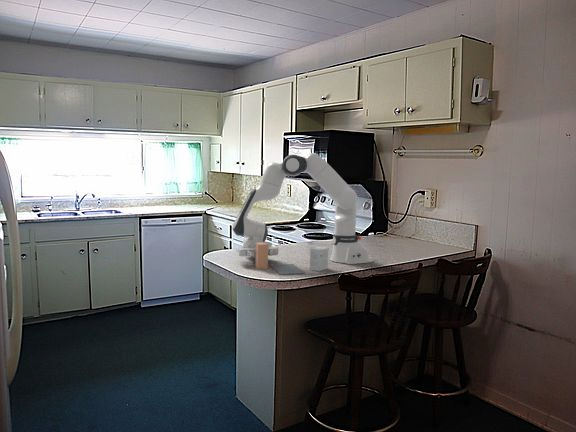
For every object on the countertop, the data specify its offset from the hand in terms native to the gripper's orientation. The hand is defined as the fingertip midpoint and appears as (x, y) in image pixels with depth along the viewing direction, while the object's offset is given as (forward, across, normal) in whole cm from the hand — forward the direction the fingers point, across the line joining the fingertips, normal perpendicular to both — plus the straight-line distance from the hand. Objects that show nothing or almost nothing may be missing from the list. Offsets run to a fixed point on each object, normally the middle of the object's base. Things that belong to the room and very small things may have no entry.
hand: (261, 254), depth 239 cm
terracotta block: (0, 0, +6) cm, 7 cm away
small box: (+8, +27, +7) cm, 29 cm away
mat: (+7, +11, +6) cm, 15 cm away
